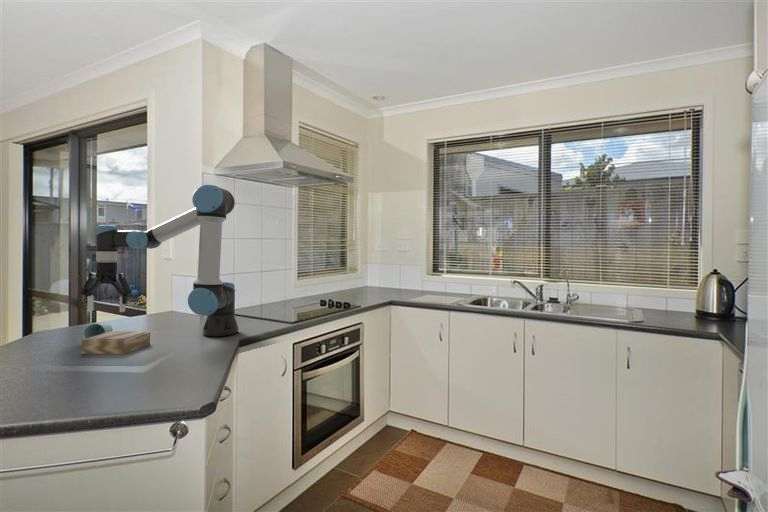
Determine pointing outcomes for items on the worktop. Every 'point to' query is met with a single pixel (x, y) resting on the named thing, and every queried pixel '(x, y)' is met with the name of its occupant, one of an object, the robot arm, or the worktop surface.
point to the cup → (96, 330)
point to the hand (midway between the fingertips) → (106, 311)
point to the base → (115, 342)
